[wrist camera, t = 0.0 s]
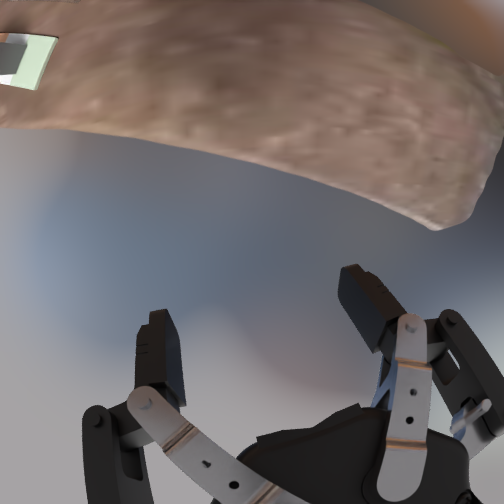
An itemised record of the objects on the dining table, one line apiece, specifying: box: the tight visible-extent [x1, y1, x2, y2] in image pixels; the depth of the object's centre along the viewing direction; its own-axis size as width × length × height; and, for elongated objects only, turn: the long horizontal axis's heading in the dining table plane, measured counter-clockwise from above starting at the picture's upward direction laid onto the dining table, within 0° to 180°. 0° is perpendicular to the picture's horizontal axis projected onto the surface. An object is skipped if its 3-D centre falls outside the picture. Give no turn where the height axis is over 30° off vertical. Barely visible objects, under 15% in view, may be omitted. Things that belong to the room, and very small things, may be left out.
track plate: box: [0, 33, 58, 90], centre depth 17 cm, size 16×8×1 cm, turn 60°
